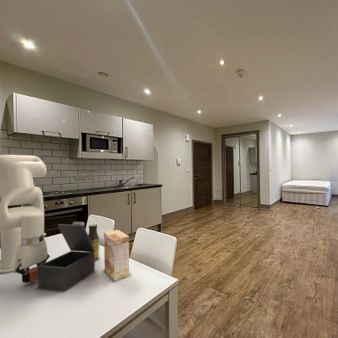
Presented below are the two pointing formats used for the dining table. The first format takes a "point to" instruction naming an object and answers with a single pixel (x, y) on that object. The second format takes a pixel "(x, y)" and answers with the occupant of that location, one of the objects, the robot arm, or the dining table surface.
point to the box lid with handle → (76, 237)
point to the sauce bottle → (94, 239)
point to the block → (33, 274)
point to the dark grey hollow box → (66, 270)
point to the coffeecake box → (116, 254)
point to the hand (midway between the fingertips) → (32, 278)
